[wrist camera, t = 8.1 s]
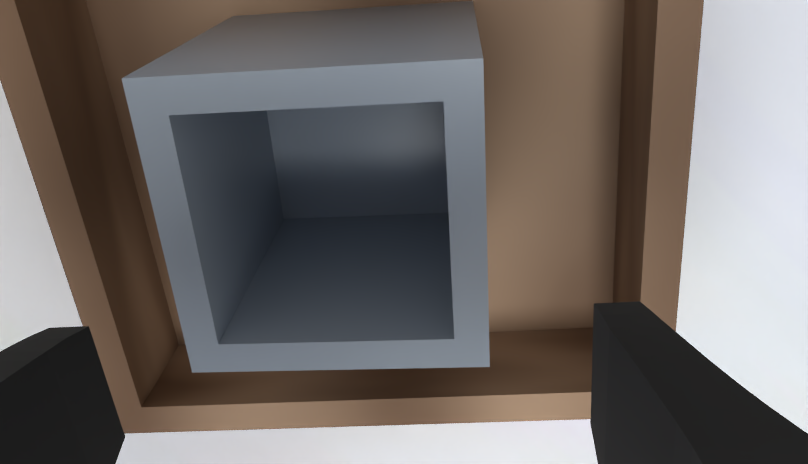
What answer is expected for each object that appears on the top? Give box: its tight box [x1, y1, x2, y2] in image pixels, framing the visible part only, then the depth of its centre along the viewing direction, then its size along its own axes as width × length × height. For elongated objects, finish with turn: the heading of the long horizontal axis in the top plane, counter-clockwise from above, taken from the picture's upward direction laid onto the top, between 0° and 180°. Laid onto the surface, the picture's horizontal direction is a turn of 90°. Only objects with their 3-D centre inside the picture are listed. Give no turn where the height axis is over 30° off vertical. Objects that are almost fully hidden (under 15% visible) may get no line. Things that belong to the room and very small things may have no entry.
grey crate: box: [122, 1, 490, 373], centre depth 14 cm, size 5×5×6 cm
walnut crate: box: [0, 0, 704, 433], centre depth 16 cm, size 14×14×4 cm
